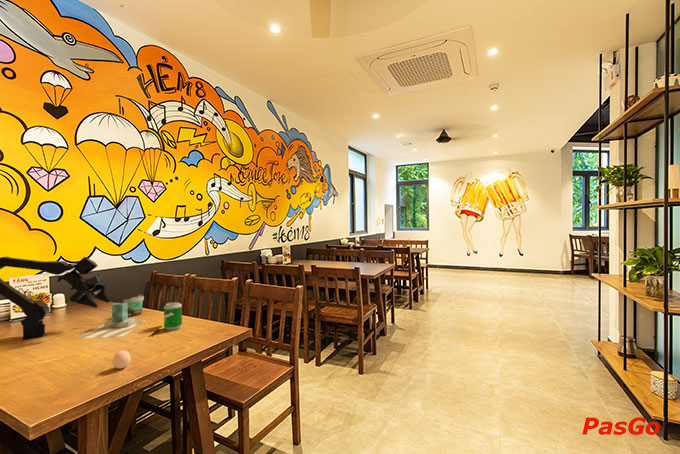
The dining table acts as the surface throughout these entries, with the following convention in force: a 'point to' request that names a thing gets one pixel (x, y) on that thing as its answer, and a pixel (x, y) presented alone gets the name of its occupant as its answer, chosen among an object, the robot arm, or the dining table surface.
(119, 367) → the egg
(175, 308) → the soda can
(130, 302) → the food container
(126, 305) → the block
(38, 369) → the dining table surface
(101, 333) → the birch board
